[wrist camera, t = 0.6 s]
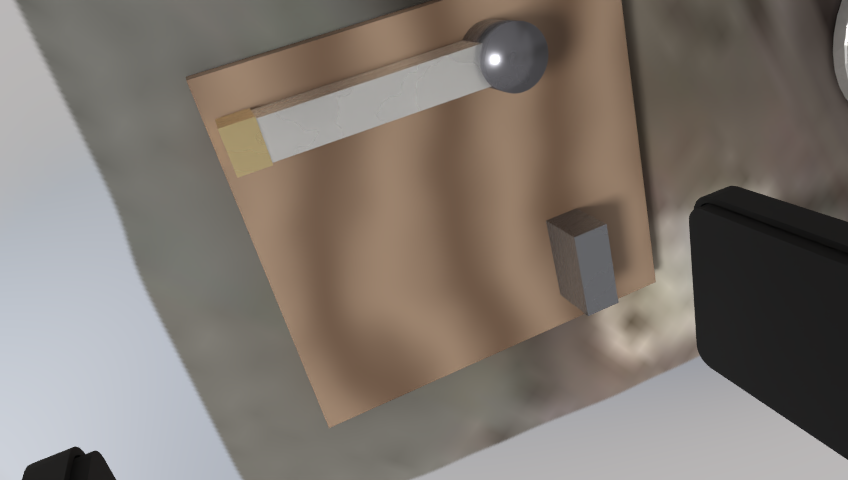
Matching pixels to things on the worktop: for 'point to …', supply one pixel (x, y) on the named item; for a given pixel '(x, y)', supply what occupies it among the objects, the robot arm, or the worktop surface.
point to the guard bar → (386, 94)
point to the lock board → (437, 197)
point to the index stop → (583, 260)
